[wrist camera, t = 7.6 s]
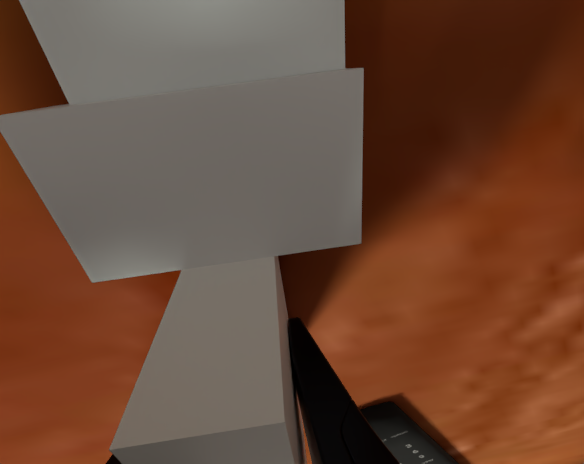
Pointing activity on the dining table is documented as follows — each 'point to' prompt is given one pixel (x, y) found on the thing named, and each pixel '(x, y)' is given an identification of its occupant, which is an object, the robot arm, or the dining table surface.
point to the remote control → (404, 436)
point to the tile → (183, 43)
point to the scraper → (206, 241)
